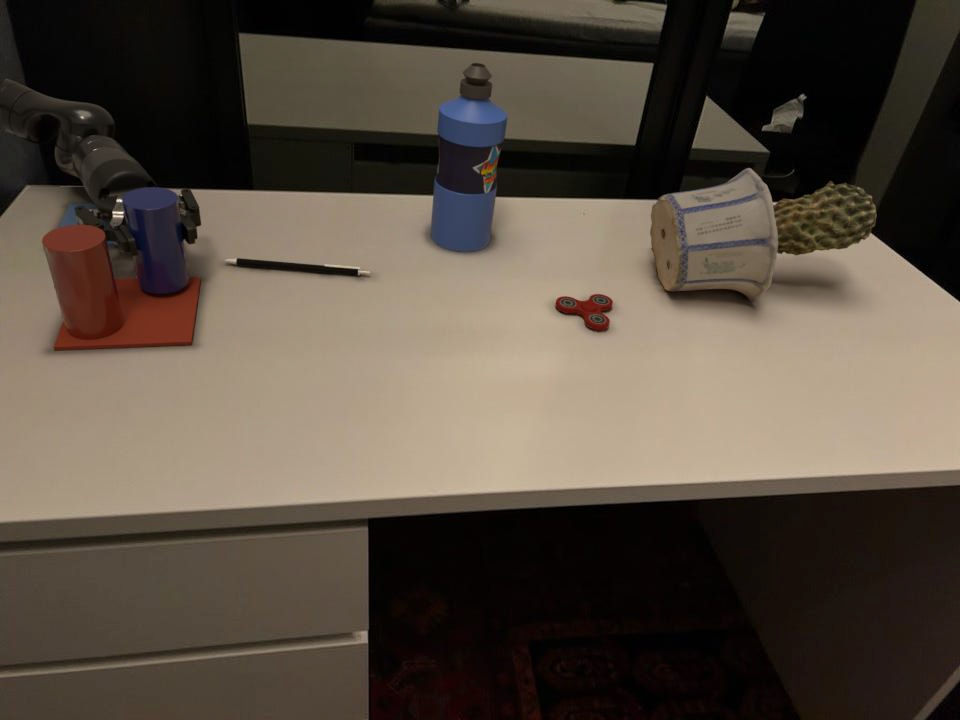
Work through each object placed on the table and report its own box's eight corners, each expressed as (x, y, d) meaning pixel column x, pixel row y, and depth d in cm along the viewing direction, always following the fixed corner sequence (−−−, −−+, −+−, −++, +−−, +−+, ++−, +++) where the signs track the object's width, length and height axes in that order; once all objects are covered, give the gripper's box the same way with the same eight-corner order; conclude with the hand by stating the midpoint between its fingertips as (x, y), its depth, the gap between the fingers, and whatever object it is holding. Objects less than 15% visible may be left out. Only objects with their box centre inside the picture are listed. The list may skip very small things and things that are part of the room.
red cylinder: (60, 340, 80) (35, 251, 74) (72, 310, 85) (49, 224, 78) (119, 338, 82) (100, 251, 75) (127, 309, 86) (109, 224, 80)
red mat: (54, 350, 80) (53, 346, 79) (79, 282, 90) (79, 279, 90) (192, 345, 83) (191, 341, 83) (201, 280, 94) (200, 276, 93)
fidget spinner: (605, 299, 101) (607, 291, 100) (628, 329, 95) (631, 321, 95) (551, 303, 99) (553, 294, 98) (572, 334, 93) (574, 326, 92)
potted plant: (683, 219, 90) (924, 176, 90) (640, 167, 104) (847, 130, 105) (680, 337, 100) (896, 298, 100) (641, 274, 115) (830, 240, 115)
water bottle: (417, 238, 109) (428, 63, 94) (449, 217, 116) (465, 50, 101) (471, 258, 106) (492, 81, 91) (501, 235, 113) (525, 66, 98)
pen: (369, 277, 98) (369, 270, 98) (223, 265, 97) (222, 257, 96) (370, 273, 99) (370, 266, 98) (225, 261, 98) (224, 254, 97)
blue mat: (51, 247, 96) (50, 243, 96) (70, 206, 105) (69, 203, 105) (150, 246, 99) (149, 243, 99) (160, 206, 108) (160, 203, 108)
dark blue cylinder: (134, 294, 87) (117, 209, 81) (141, 269, 92) (125, 186, 85) (187, 293, 89) (175, 209, 82) (191, 268, 93) (180, 187, 87)
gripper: (179, 203, 101) (227, 257, 91) (64, 222, 94) (102, 285, 83) (172, 150, 97) (221, 201, 87) (50, 166, 89) (89, 225, 79)
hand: (162, 242), depth 85 cm, fingers closed on dark blue cylinder, 6 cm apart
